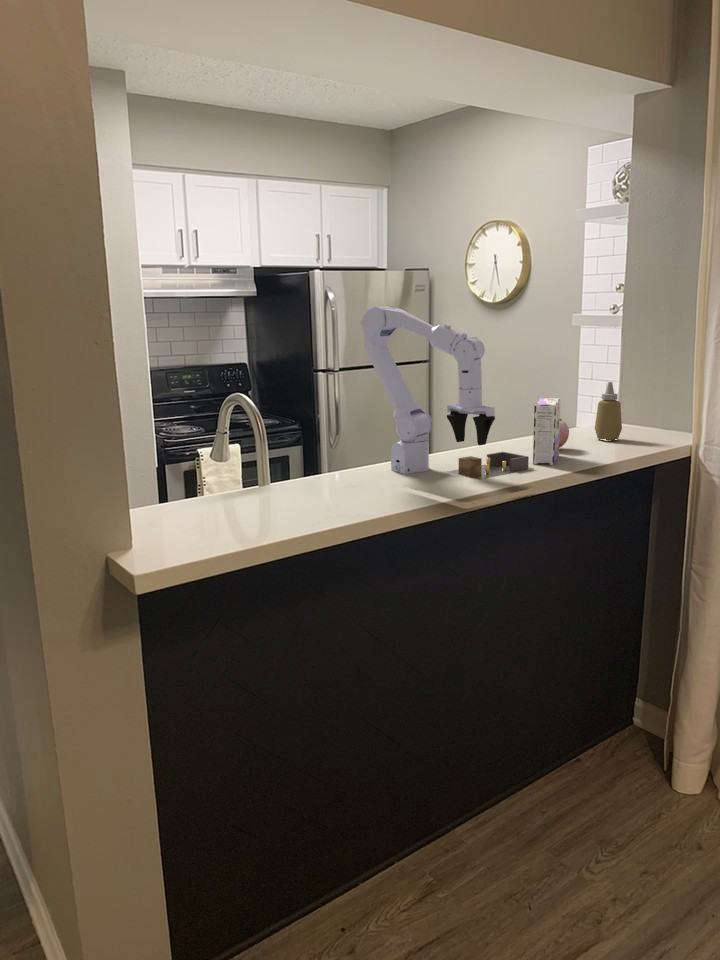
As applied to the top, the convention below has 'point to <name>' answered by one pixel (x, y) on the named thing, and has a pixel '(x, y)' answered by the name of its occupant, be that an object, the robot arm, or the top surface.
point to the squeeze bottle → (608, 415)
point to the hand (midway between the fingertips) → (471, 443)
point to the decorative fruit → (563, 433)
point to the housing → (509, 460)
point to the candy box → (546, 431)
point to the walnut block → (470, 466)
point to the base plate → (492, 470)
